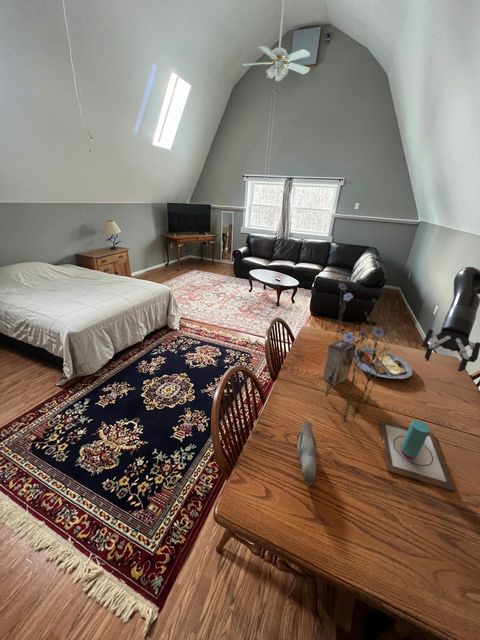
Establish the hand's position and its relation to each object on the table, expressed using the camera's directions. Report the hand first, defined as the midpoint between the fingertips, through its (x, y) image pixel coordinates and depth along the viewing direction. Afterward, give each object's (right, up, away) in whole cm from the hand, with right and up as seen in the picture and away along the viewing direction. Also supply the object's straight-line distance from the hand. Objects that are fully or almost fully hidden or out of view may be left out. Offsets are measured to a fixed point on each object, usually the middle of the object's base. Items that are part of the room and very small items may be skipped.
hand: (443, 365), depth 85 cm
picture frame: (-13, -25, -4) cm, 29 cm away
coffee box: (-25, -10, +27) cm, 38 cm away
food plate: (-1, -7, +37) cm, 38 cm away
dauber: (-15, -25, -6) cm, 30 cm away
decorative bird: (-46, -26, -9) cm, 53 cm away
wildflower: (-29, -18, +10) cm, 36 cm away
